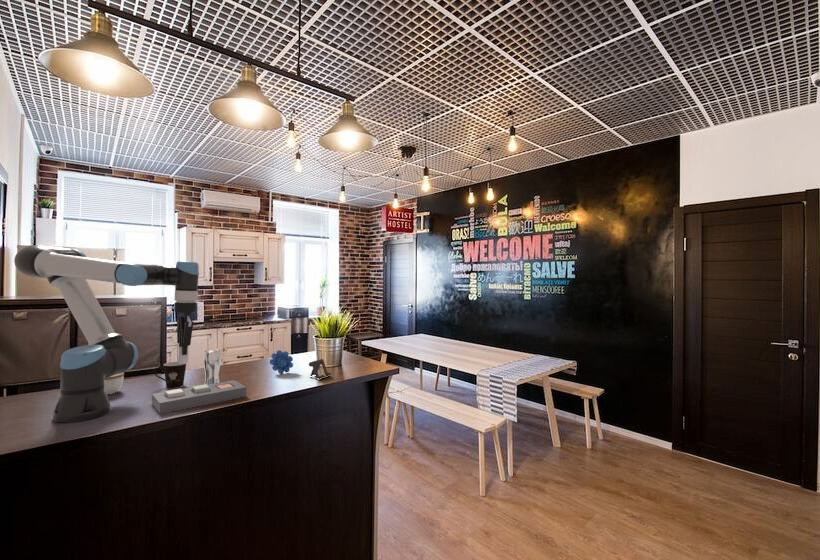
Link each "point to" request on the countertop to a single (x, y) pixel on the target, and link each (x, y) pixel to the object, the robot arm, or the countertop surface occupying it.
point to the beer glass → (212, 366)
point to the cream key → (174, 393)
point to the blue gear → (281, 361)
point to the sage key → (200, 388)
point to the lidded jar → (113, 383)
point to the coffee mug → (173, 374)
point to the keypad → (198, 397)
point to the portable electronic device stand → (316, 367)
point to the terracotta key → (224, 386)
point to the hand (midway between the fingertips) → (182, 362)
